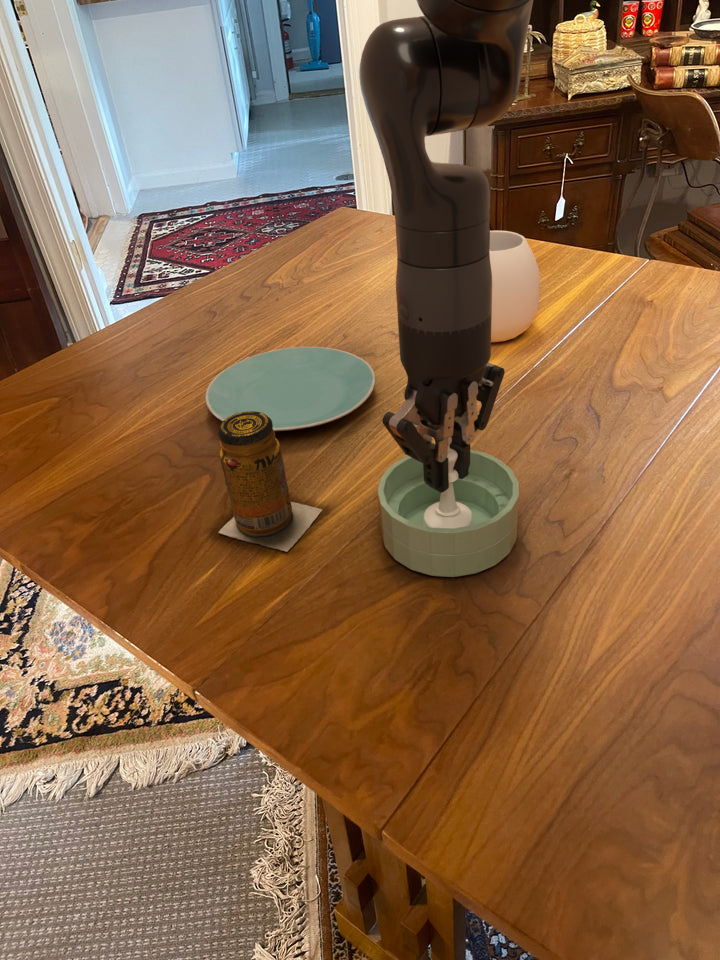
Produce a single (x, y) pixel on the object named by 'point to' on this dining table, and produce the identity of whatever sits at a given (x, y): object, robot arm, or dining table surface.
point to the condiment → (259, 484)
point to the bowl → (444, 548)
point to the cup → (512, 285)
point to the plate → (293, 386)
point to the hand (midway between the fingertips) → (447, 480)
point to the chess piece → (448, 503)
